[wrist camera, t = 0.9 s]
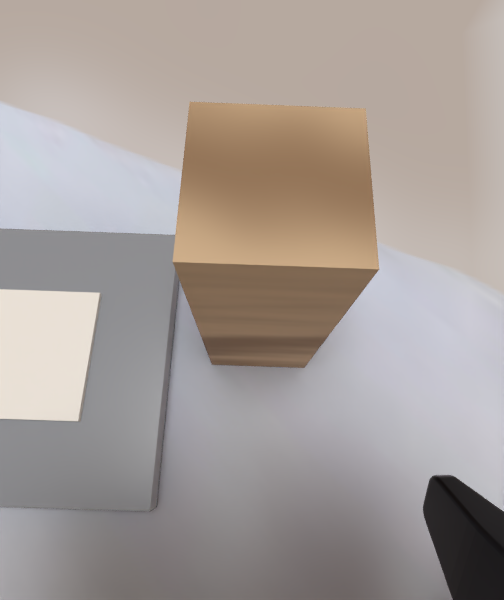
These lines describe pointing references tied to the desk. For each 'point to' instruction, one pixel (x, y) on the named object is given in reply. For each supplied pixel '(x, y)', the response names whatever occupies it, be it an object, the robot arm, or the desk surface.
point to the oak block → (273, 227)
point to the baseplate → (84, 367)
